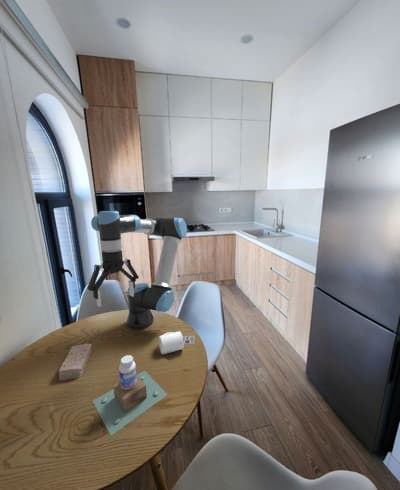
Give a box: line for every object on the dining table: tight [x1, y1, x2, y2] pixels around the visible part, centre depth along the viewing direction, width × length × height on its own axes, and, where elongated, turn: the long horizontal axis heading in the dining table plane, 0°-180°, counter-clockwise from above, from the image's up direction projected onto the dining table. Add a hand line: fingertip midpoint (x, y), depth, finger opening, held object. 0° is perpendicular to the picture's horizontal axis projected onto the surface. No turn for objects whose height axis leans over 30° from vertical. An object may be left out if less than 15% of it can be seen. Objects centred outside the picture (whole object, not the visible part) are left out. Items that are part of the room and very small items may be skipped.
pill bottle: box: [118, 354, 137, 390], centre depth 74 cm, size 5×5×10 cm
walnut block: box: [113, 374, 147, 413], centre depth 75 cm, size 8×8×5 cm
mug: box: [158, 331, 185, 355], centre depth 103 cm, size 12×10×8 cm
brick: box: [58, 343, 93, 381], centre depth 93 cm, size 17×8×5 cm, turn 12°
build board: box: [92, 370, 168, 437], centre depth 75 cm, size 20×16×2 cm
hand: (116, 300), depth 89 cm, fingers open, 13 cm apart
